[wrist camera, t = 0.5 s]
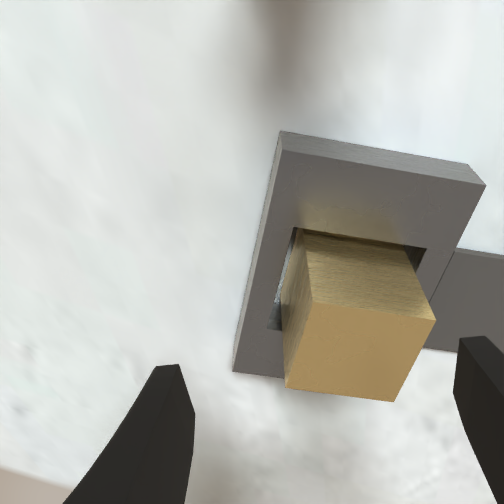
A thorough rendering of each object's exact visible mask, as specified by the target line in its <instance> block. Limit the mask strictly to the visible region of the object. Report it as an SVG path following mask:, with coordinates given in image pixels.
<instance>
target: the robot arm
mask: <svg viewBox="0 0 504 504" xmlns="http://www.w3.org/2000/svg"><path fill="white" fill-rule="evenodd" d="M453 394H454V398H455V401H456V404H457V408H458V411H459V414H460V417H461V420H462V423H463V426H464V430H465V432H466V435H467V437H468V439H469V442H470V444H471V446H472V448H473V451H474V453H475V455H476V457H477V460H478V462H479V464H480V466H481V468H482V471H483V473H484V475H485V477H486V479H487V482H488V484H489V486H490V488H491V491H492V493H493V495H494V497H495V499H496V502H497V504H504V353H503V352H502V351H501V350H500V349H499V348H498V347H497V346H496V345H495V344H494V343H493V342H492V341H491V340H490V339H489V338H487V337H486V336H474V337H463V338H459V346H458V354H457V363H456V371H455V379H454V388H453ZM194 430H195V412H194V409H193V406H192V403H191V400H190V397H189V394H188V390H187V387H186V384H185V381H184V378H183V375H182V372H181V369H180V366H179V364H174V365H164V366H156V367H155V368H154V370H153V371H152V373H151V375H150V377H149V378H148V380H147V382H146V383H145V385H144V387H143V389H142V390H141V392H140V394H139V395H138V397H137V399H136V400H135V402H134V404H133V405H132V407H131V409H130V410H129V412H128V413H127V415H126V417H125V418H124V420H123V421H122V423H121V424H120V426H119V427H118V429H117V431H116V432H115V434H114V435H113V437H112V438H111V440H110V441H109V443H108V444H107V446H106V447H105V448H104V450H103V451H102V453H101V454H100V455H99V457H98V458H97V460H96V461H95V462H94V464H93V465H92V467H91V468H90V469H89V471H88V472H87V473H86V475H85V476H84V477H83V479H82V480H81V481H80V483H79V484H78V485H77V486H76V488H75V489H74V490H73V492H72V493H71V494H70V495H69V496H68V498H67V499H66V500H65V501H64V502H63V504H184V502H185V496H186V491H187V485H188V479H189V474H190V468H191V462H192V456H193V446H194Z"/></svg>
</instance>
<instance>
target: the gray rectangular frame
mask: <svg viewBox="0 0 504 504" xmlns="http://www.w3.org/2000/svg"><path fill="white" fill-rule="evenodd" d="M485 187H486V184H485V183H484V182H483V181H482V180H481V179H480V178H479V176H478V175H477V174H476V173H475V172H474V171H473V170H472V169H471V167H470V166H469V165H468V164H463V163H457V162H452V161H446V160H441V159H435V158H429V157H424V156H418V155H413V154H407V153H401V152H396V151H390V150H385V149H379V148H373V147H368V146H362V145H357V144H351V143H345V142H340V141H334V140H329V139H323V138H318V137H312V136H306V135H301V134H295V133H290V132H284V131H280V134H279V139H278V144H277V148H276V153H275V157H274V162H273V167H272V171H271V176H270V180H269V185H268V190H267V194H266V199H265V203H264V208H263V213H262V217H261V222H260V226H259V231H258V236H257V240H256V245H255V249H254V254H253V259H252V263H251V268H250V272H249V277H248V282H247V286H246V291H245V295H244V300H243V305H242V309H241V314H240V318H239V323H238V328H237V332H236V337H235V341H234V353H233V369H232V371H233V372H240V373H248V374H255V375H263V376H270V377H277V378H285V372H284V354H283V336H282V317H281V304H277V303H274V299H275V295H276V292H277V288H278V284H279V280H280V276H281V273H282V269H283V265H284V261H285V257H286V254H287V250H288V246H289V242H290V238H291V235H292V231H293V227H298V228H304V229H311V230H317V231H323V232H329V233H335V234H341V235H348V236H354V237H360V238H366V239H372V240H379V241H385V242H391V243H397V244H403V245H405V247H404V250H405V252H406V254H407V256H408V259H409V261H410V263H411V265H412V267H413V270H414V272H415V274H416V276H417V279H418V281H419V283H420V285H421V287H422V290H423V292H424V294H425V296H426V299H427V301H428V303H429V301H430V299H431V297H432V295H433V293H434V291H435V289H436V287H437V285H438V282H439V280H440V278H441V276H442V274H443V272H444V270H445V268H446V266H447V264H448V262H449V260H450V258H451V256H452V254H453V252H454V250H455V248H456V246H457V244H458V242H459V240H460V238H461V236H462V234H463V232H464V230H465V228H466V226H467V224H468V222H469V220H470V218H471V216H472V214H473V212H474V210H475V208H476V206H477V204H478V202H479V200H480V198H481V195H482V193H483V191H484V189H485Z"/></svg>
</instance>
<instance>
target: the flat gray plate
mask: <svg viewBox="0 0 504 504" xmlns="http://www.w3.org/2000/svg"><path fill="white" fill-rule="evenodd" d="M429 305H430V307H431V310H432V312H433V314H434V316H435V319H436V322H435V324H434V326H433V328H432V330H431V332H430V333H429V335H428V337H427V339H426V341H425V343H424V345H423V347H426V348H433V349H440V350H447V351H454V352H458V346H459V338H463V337H474V336H486V337H487V338H489V339H490V340H491V341H492V342H493V343H494V344H495V345H496V346H497V347H498V348H499V349H500V350H501V351H502V352H503V353H504V255H498V254H492V253H486V252H480V251H474V250H468V249H462V248H455V250H454V252H453V254H452V256H451V258H450V260H449V262H448V264H447V266H446V268H445V270H444V272H443V274H442V276H441V278H440V280H439V282H438V285H437V287H436V289H435V291H434V293H433V295H432V297H431V299H430V301H429Z"/></svg>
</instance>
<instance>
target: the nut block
mask: <svg viewBox="0 0 504 504" xmlns="http://www.w3.org/2000/svg"><path fill="white" fill-rule="evenodd" d="M280 299H281V317H282V336H283V354H284V372H285V388H290V389H298V390H305V391H313V392H320V393H328V394H335V395H343V396H350V397H358V398H366V399H373V400H381V401H388V402H394V401H395V399H396V397H397V395H398V393H399V391H400V389H401V387H402V385H403V383H404V381H405V380H406V378H407V376H408V374H409V372H410V370H411V368H412V366H413V364H414V362H415V360H416V358H417V356H418V355H419V353H420V351H421V349H422V347H423V345H424V343H425V341H426V339H427V337H428V335H429V333H430V332H431V330H432V328H433V326H434V324H435V322H436V319H435V316H434V314H433V312H432V310H431V307H430V305H429V303H428V301H427V299H426V296H425V294H424V292H423V290H422V287H421V285H420V283H419V281H418V279H417V276H416V274H415V272H414V270H413V267H412V265H411V263H410V261H409V259H408V256H407V254H406V252H405V250H404V247H403V245H402V244H397V243H391V242H385V241H379V240H372V239H366V238H360V237H354V236H348V235H341V234H335V233H329V232H323V231H317V230H311V229H304V228H298V230H297V234H296V237H295V241H294V245H293V248H292V252H291V256H290V260H289V263H288V267H287V271H286V274H285V278H284V282H283V286H282V289H281V293H280Z"/></svg>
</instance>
